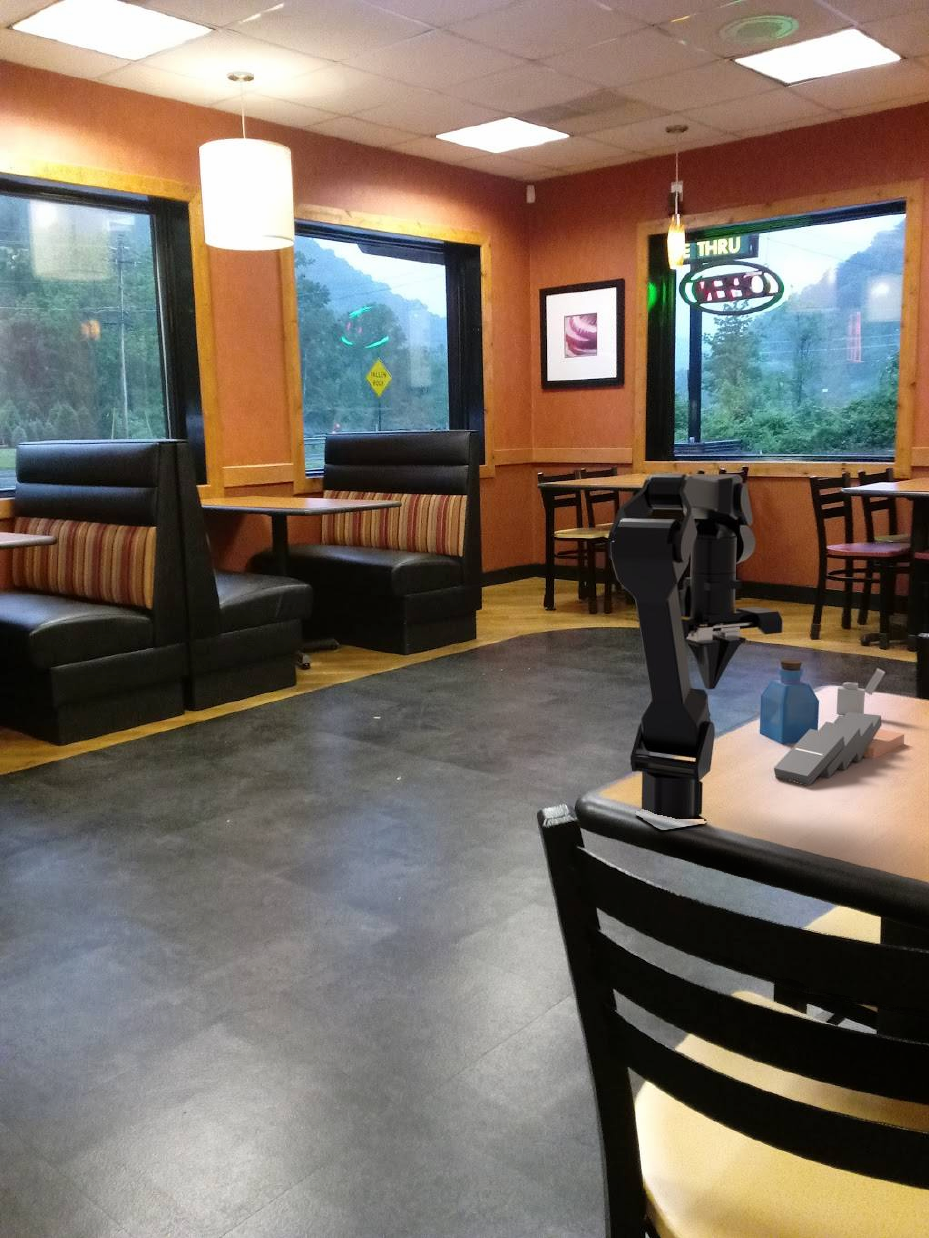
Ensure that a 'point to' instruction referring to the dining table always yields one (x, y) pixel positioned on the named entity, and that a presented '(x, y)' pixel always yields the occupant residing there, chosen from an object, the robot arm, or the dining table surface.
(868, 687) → the lighter
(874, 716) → the domino
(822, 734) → the domino
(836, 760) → the domino
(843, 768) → the domino
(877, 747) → the domino
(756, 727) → the dining table surface
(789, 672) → the perfume bottle
